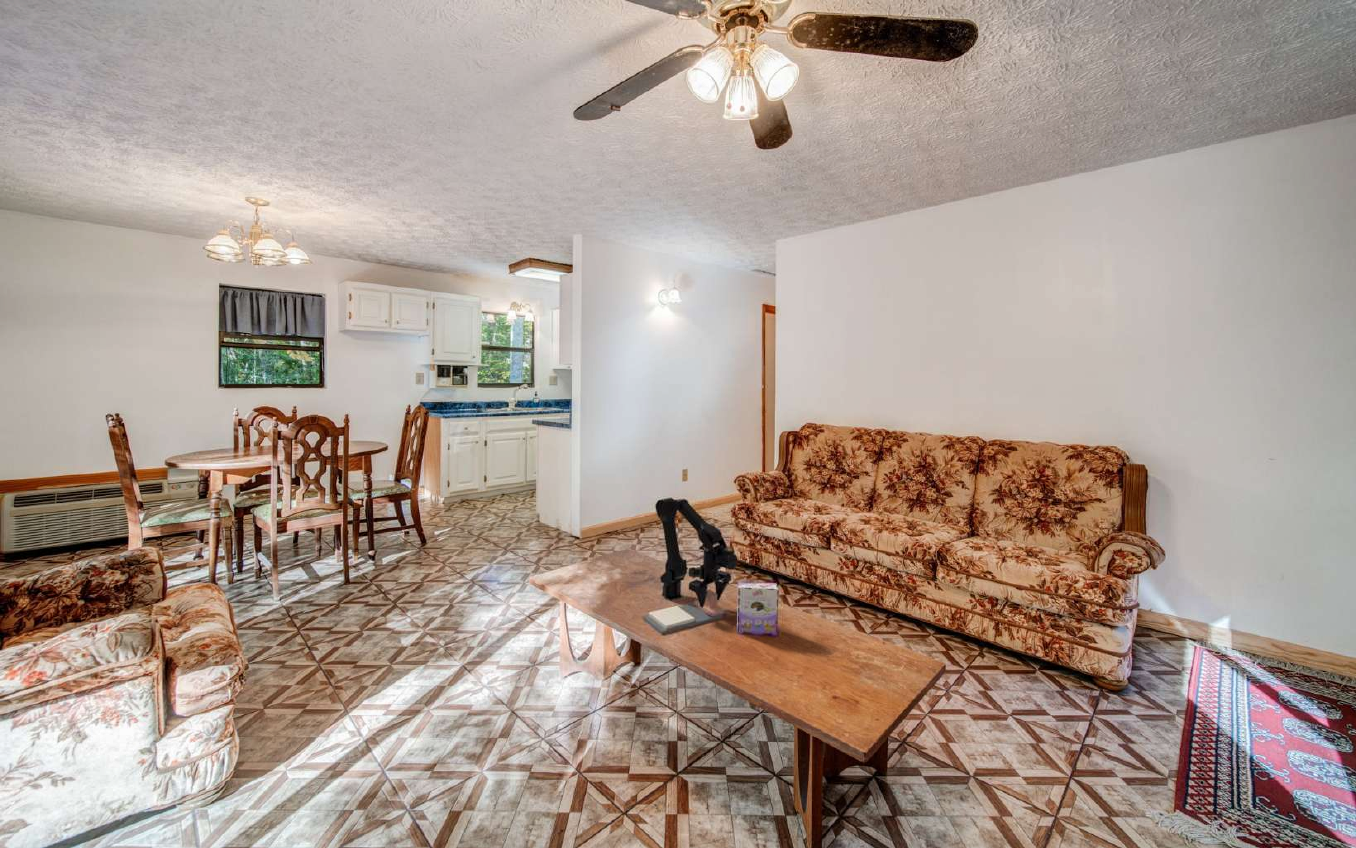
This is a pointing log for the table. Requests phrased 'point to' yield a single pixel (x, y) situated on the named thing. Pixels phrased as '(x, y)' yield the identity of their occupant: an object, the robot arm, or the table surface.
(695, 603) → the stub
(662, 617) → the spiral notepad
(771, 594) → the candy box
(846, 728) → the table surface
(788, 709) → the table surface
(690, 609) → the mat
